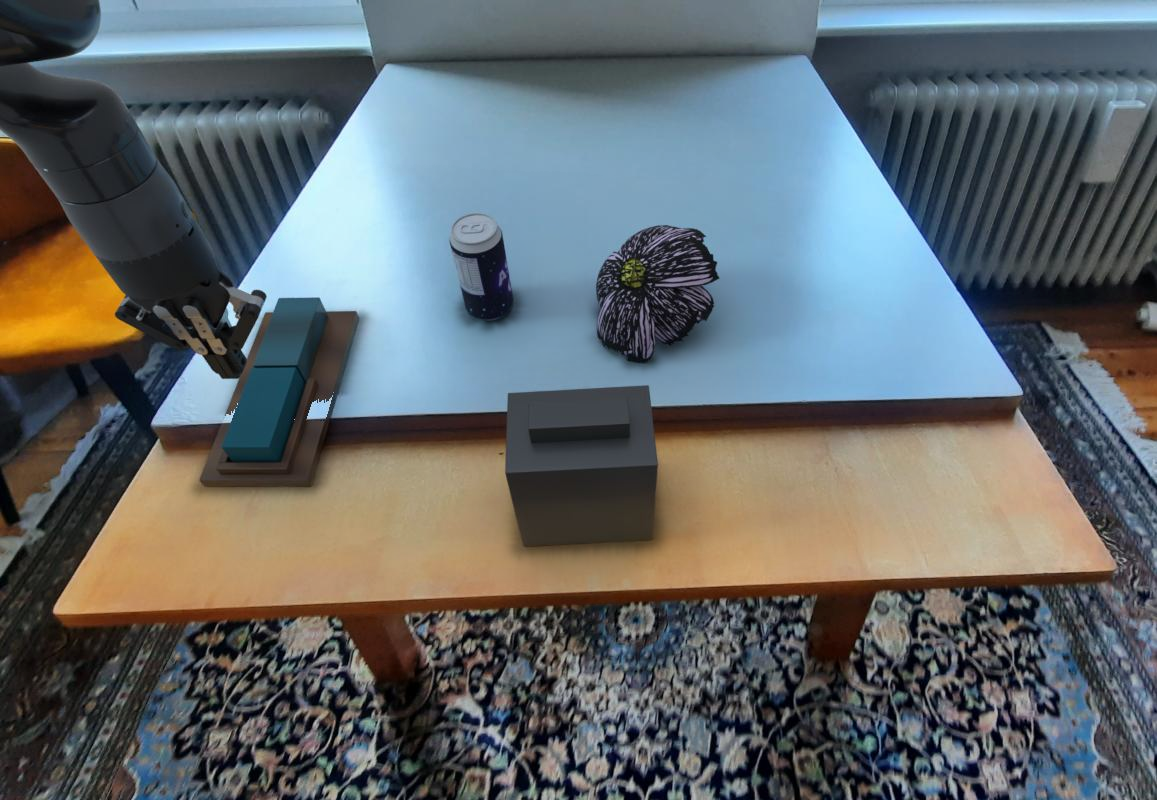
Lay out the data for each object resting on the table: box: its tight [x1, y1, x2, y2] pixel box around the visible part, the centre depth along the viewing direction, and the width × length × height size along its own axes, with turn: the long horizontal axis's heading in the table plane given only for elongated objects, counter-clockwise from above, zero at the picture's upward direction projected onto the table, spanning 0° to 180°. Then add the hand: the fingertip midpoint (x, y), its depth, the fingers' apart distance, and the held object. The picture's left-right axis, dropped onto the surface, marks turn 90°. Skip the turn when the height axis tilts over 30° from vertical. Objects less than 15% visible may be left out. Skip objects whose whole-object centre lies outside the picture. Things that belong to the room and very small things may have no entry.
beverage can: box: [448, 212, 514, 321], centre depth 82 cm, size 6×6×12 cm
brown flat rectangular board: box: [198, 296, 360, 487], centre depth 78 cm, size 23×11×4 cm, turn 178°
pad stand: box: [504, 384, 659, 547], centre depth 64 cm, size 12×8×15 cm, turn 92°
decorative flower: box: [595, 224, 720, 364], centre depth 81 cm, size 15×12×15 cm
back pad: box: [222, 368, 306, 463], centre depth 75 cm, size 10×5×3 cm, turn 178°
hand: (234, 371), depth 69 cm, fingers closed
